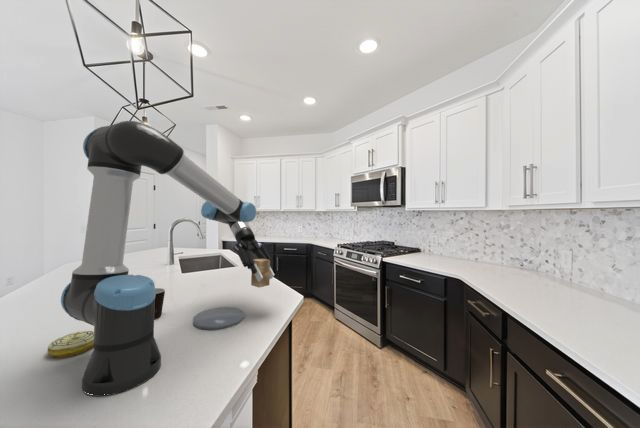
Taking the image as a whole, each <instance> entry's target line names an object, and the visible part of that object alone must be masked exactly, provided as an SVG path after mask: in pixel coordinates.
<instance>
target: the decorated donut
mask: <svg viewBox="0 0 640 428" xmlns="http://www.w3.org/2000/svg"><path fill="white" fill-rule="evenodd" d="M92 348H94V330H93V331H92V330H90V331H89V330H86V331H85V330H84V331H83V330H82V331H81V330H80V331H76V332H71V333H69V334H67V335H64V336H62V337H58V338H56V339H55V340H54V341H52V342H50V343H49V344H48V346H47V353H48V355H50V356H51V357H53V358H67V357H72V356H76V355H80V354H83V353H85V352H87V351H89V350H90V349H92Z"/></svg>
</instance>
